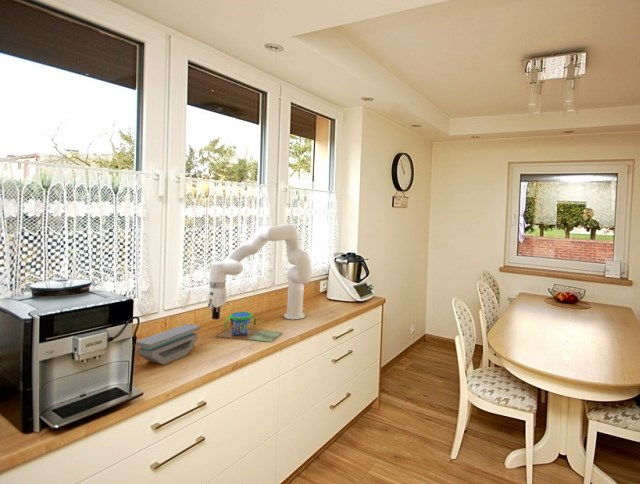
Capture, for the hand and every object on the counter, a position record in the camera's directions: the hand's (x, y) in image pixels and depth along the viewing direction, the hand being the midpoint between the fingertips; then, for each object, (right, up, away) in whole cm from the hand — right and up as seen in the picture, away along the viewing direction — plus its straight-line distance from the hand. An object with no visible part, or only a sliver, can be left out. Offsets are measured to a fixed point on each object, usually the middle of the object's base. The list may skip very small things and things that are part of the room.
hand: (215, 318), depth 191 cm
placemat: (+18, -8, -1) cm, 20 cm away
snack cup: (+13, -8, -1) cm, 15 cm away
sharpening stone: (-3, -8, -34) cm, 35 cm away
